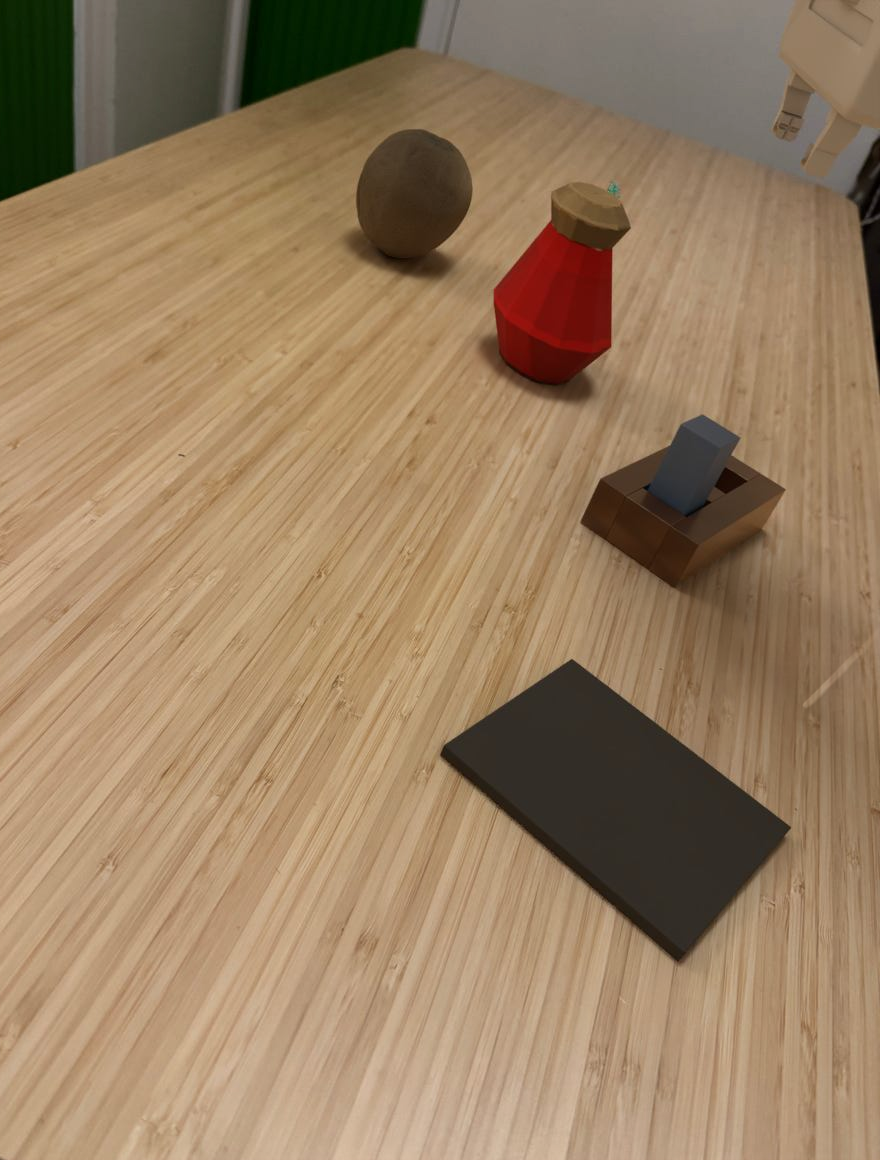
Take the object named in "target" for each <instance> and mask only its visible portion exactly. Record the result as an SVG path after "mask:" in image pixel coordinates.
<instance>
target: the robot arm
mask: <svg viewBox="0 0 880 1160" xmlns="http://www.w3.org/2000/svg"><path fill="white" fill-rule="evenodd" d="M784 27H785V28H784V30H783V33H782V36H781V40H780V46H779V51H778V55H779V58H780V60H782V61H783V62H784V63H785V64H786V65H787V66H788V67H789V68H790V69H791V70H790V72H789V74H788V76H787V79H786V81H785V84H784V88H783V92H782V97H781V101H780V106H779V110H778V113H777V114H776V117H775V119H774V121H773V123H772V126H771V132H772V134H773V135H774V136H775V137H776V138H777V139H779V140H783V141H786V142H793V141H795V140H796V139H797V137H798V136H799V132H800V130H801V128H802V127H803V124H804V122H805V119H804V118H803V117H804V115H805V112H806V109H807V107H808V104H809V101H810V99H811V96H812V95H814V94H815V92H816V93H817V94H818V95H819V96H820V97H821V98H822V99H823V100H824V101H825V102H826V103H827V104H828V105H830V107H831V109H830V111H829V112H828V114H827V116H826V119H825V123H826V125H825V126H824V128H823V130H822V131H821V133H820V134H819V136H818V138H817V139H816V140H815V142H814V143H813V142H810V143H809V145H808V147H807V149H806V151H805V154H804V156H803V158H802V159H801V161H800V166H801V168H802V170H803V171H804V172H805V173H806V174H807V175H809V176H812V177H814V178H818V179H824V178H826V177H827V176H828V175H829V173H830V171H831V169H832V167H833V165H834V164H835V161H836V160H837V158H838V156H839V155H840V154H842V152H843V151H844V150H845V149H846V148H847V147H848V146H849V145H850V143H852V141H853V140H855V138H856V137H857V136H858V134H859V132H860V130H861V129H862V127H863V126H864V127H867V128H868V127H869V128H871V129H875V130H878V131H880V0H795V1H794V3H793V5H792V9H791V11H790V14H789V16H788V19H787V21H786V24H785V26H784Z"/></svg>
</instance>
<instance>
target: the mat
mask: <svg viewBox="0 0 880 1160" xmlns="http://www.w3.org/2000/svg"><path fill="white" fill-rule="evenodd" d="M439 754H440V756H441V757H443V759H444V760H446V761H447V762H448V763H449V764H450V765H452V766H453V767H454V768H455V769H456V770H457V771H459V772H460V773H461V774H462V775H463V776H464V777H465V778H466V779H468V780H469V781H470V782H471V783H472V784H473V785H475V786H476V787H477V788H478V789H479V790H480V791H482V793H484V794H485V795H486V796H487V797H488V798H490V799H491V800H492V801H493V802H494V803H495V804H497V806H499V807H500V808H501V809H502V810H503V811H505V813H506V814H508V815H509V816H510V817H511V818H513V819H514V820H515V821H516V822H517V823H518V824H520V825H521V826H522V827H523V828H524V829H525V830H526V831H527V832H529V833H530V834H531V835H532V836H534V837H535V838H536V839H537V840H538V841H539V842H540V843H541V844H543V845H544V846H545V847H546V848H547V850H549V851H551V853H553V854H554V855H555V856H556V857H557V858H559V860H561V861H562V862H563V863H564V864H566V865H567V867H569V868H570V869H571V870H573V871H574V872H575V873H576V874H577V875H578V876H579V877H580V878H582V879H583V880H584V881H585V882H586V883H587V884H588V885H589V886H591V888H593V889H594V890H595V891H597V892H598V893H599V894H600V895H601V896H602V897H603V898H605V899H606V900H607V901H608V902H609V903H610V904H612V905H613V906H614V907H615V908H616V909H617V910H619V911H620V912H621V913H622V914H623V915H624V916H626V917H627V918H628V919H629V920H630V921H631V922H632V923H633V924H634V925H636V926H637V927H638V928H639V929H641V931H642V932H644V933H645V934H646V935H647V936H648V937H650V938H651V939H652V940H653V941H654V942H655V943H657V944H658V945H659V946H660V947H661V948H662V949H663V950H664V951H666V952H667V953H668V954H669V955H670V956H671V957H672V958H674V959H675V960H676V961H677V962H679V961H681V959H682V958H683V957H684V956H685V955H686V954H687V953H688V951H689V950H690V949H691V948H692V947H693V945H694V944H695V943H696V942H697V940H698V939H700V937H701V935H703V933H705V931H706V930H707V929H708V927H709V926H710V925H711V924H712V923H713V922H714V920H716V918H717V917H718V915H719V914H720V913H721V912H722V911H723V910H724V908H725V907H726V906H727V905H728V904H729V903H730V902H731V901H732V899H733V898H734V897H735V895H736V894H737V893H738V892H739V891H740V890H741V888H742V887H743V886H744V885H745V884H746V882H748V880H749V879H750V878H751V876H752V875H753V874H754V873H755V872H756V870H758V869H759V867H760V866H761V865H762V863H764V861H765V860H766V859H767V858H768V856H769V855H770V854H771V853H772V851H774V849H776V847H777V846H778V845H779V843H780V842H781V841H782V840H783V839H784V837H786V835H787V834H788V832H789V831H790V830H791V829H792V826H790V825H789V824H788V823H787V822H785V821H784V820H782V818H781V817H779V816H777V815H776V814H775V813H774V812H773V811H771V810H770V809H768V808H767V807H766V806H765V805H763V804H762V803H760V802H759V801H758V800H757V799H755V798H754V797H753V796H751V795H750V794H749V793H747V792H746V791H745V790H744V789H743V788H741V787H740V786H739V785H737V784H736V783H734V782H733V781H732V780H731V779H729V778H728V777H727V776H726V775H724V774H723V773H722V772H720V771H719V770H717V769H716V768H715V767H714V766H712V765H711V764H710V763H709V762H707V761H706V760H705V759H703V758H702V757H701V756H700V755H698V754H697V753H696V752H694V751H693V750H691V749H690V748H689V747H688V746H687V745H685V744H684V743H683V742H682V741H680V740H679V739H678V738H676V737H675V736H674V735H672V734H671V733H670V732H668V731H667V730H666V729H664V728H663V727H662V726H660V725H659V724H658V723H656V722H655V721H654V720H652V719H651V718H650V717H649V716H648V715H646V714H645V713H643V712H642V711H641V710H640V709H638V708H637V707H636V706H634V705H633V704H631V702H629V701H628V700H627V699H625V698H624V697H622V696H621V695H620V694H619V693H618V692H616V691H615V690H613V689H612V688H611V687H610V686H609V685H607V684H606V683H604V681H602V680H601V679H599V678H598V677H597V676H596V675H595V674H593V673H592V672H590V671H589V670H588V669H586V668H585V667H584V666H583V665H581V664H580V663H578V662H577V661H576V660H575V659H573V658H571V659H569V660H567V661H566V662H565V663H563V664H562V665H560V666H559V667H557V668H555V670H553V671H551V672H550V673H548V674H547V675H546V676H544V677H542V678H541V679H539V680H537V682H535V683H534V684H533V685H531V686H529V687H527V688H526V689H525V690H523V691H522V692H520V693H519V694H517V695H516V696H514V697H513V698H512V699H510V700H509V701H506V703H504V704H502V705H501V706H500V707H498V708H497V709H495V710H493V711H492V712H491V713H489V714H488V715H486V716H485V717H483V718H482V719H480V720H479V721H477V722H476V723H475V724H473V725H471V726H470V727H469V728H466V729H465V730H464V731H463V732H461V733H460V734H458V735H457V736H455V737H454V738H452V739H450V740H449V741H447V742H446V743H444V745H443V746H442V749H441V750H440V753H439Z"/></svg>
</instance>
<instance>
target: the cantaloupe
mask: <svg viewBox="0 0 880 1160" xmlns="http://www.w3.org/2000/svg"><path fill="white" fill-rule="evenodd" d="M356 185H357V186H356V195H355V205H356V206H355V207H356V215H357V220H358V223H359V226H360V228H361V231H362V232H363V234H364V235H365V236H366V238H367V239H368V241H370V242H371V243H372V244H373V245H375V246H376V247H377V248H378V249H379V250H380V251H382V253H383V254H385V255H386V256H389V257H390V258H394V259H409V258H416V257H420V256H423V255H426V254H428V253H431V252H432V251H434V250H435V249H437V248H439V247H440V246H441V245H442V244H444V243H445V242H446V241H447V240H449V238H450V237H451V236H452V235H453V234H454V233H455V232H456V231H457V230H458V229H459V227H460V226H461V224H462V223H463V221H464V219H465V217H466V216H467V214H468V212H469V209H470V206H471V204H472V199H473V189H474V188H473V179H472V174H471V171H470V168H469V165H468V164H467V161H466V159H465V157H464V155H463V154H462V152H461V150H460V149H459V148H458V147H457V146H456V145H454V144H453V143H452V142H451V141H449V140H448V139H447V138H443V137H441V136H438V135H437V134H435V133H433V132H430V131H428V130H426V129H421V128H417V129H416V128H410V129H409V128H408V129H403V130H399V131H397V132H394V133H392V134H390V135H388V137H386V138H385V139H384V140H383V141H381V142H380V143H379V144H378V145H377V146H376V147H375V148H374V149H373V151H372V152H371V153H370V154H369V156H368V157H367V159H366V160H365V162H364V164H363V167H362V170H361V172H360V176H359V178H358V182H357V184H356Z"/></svg>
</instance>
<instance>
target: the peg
mask: <svg viewBox="0 0 880 1160" xmlns="http://www.w3.org/2000/svg"><path fill="white" fill-rule="evenodd" d="M740 440H741V436H739V435H737V434H736V433H735V432H732V431H731V430H730V429H727V428H726V427H724V426H722V425H721V424H720V423H718V422H716V421H715V420H713V419H711V418H709V417H708V416H707V415H705V414H703V413H701V414H700V415H697V416H695V417H693V418H691V419H688V420H686V421H684V422H682V423H681V424H680V425H679V426H678V429H677V431H676V432H675V435H674V437H673V439H672V440H671V443H670V445H669V446H670V447H669V449H668V451H667V453H666V455H665V457H664V459H663V461H662V463H661V465H660V467H659V469H658V471H657V473H656V475H655V477H654V479H653V481H652V483H651V485H650V487H649V489H648V492H649V493H651V494H652V495H654V496H655V497H657V498H658V499H660V500H661V501H663V502H664V503H666V504H667V505H669V506H670V507H672V508H673V509H675V510H676V511H678V512H679V513H681V514H682V515H684V516H685V517H688V516H690V515H692V514H693V513H695V512H697V511H698V510H700V509H702V508H703V506H704V504H705V502H706V500H707V499H708V497H709V495H710V493H711V491H712V489H713V488H714V486H715V484H716V482H717V480H718V479H719V477H720V475H721V473H722V471H723V469H724V468H725V466H726V464H727V462H728V460H729V458H730V457H731V455H732V456H733V453H734V452H735V449H736V447H738V444H739V442H740Z"/></svg>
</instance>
